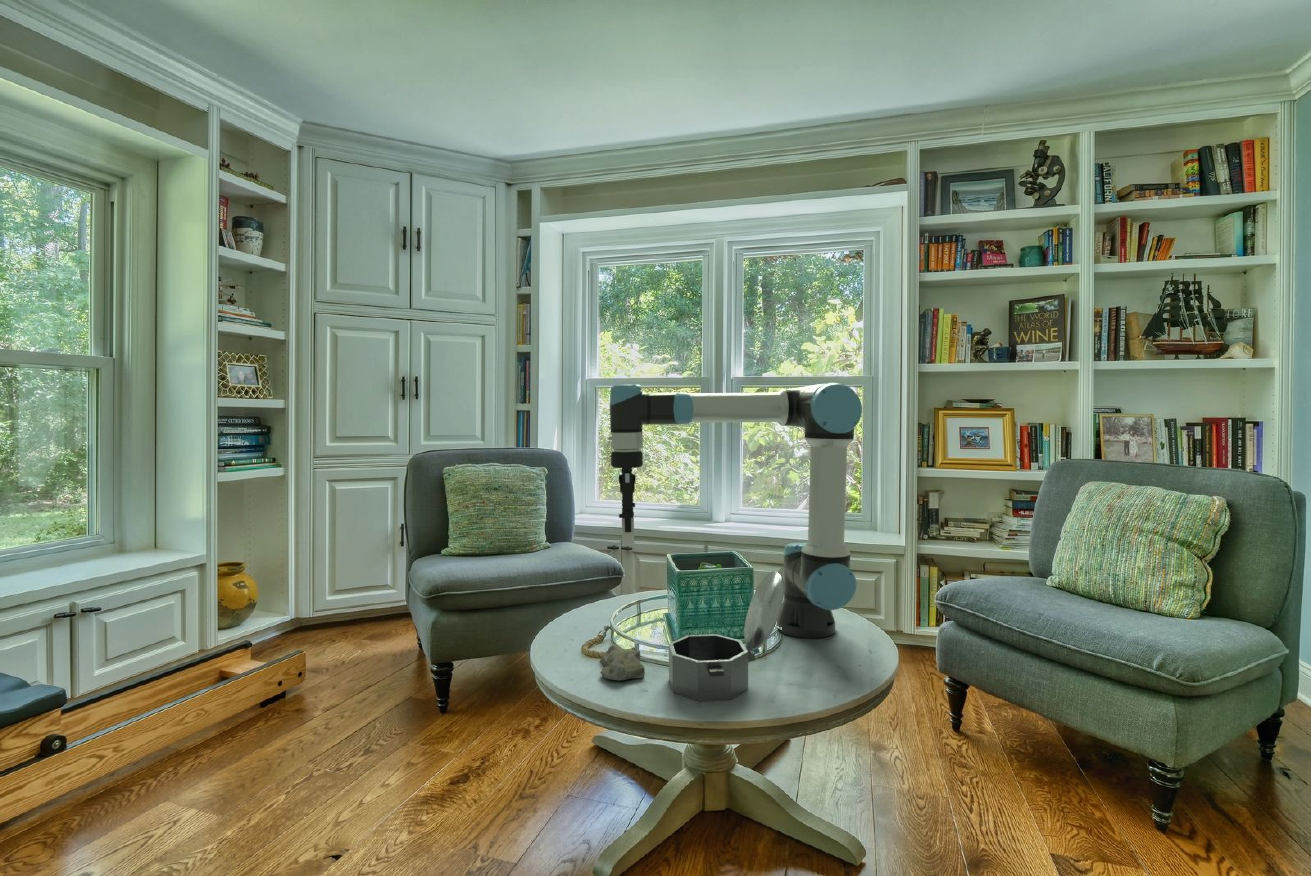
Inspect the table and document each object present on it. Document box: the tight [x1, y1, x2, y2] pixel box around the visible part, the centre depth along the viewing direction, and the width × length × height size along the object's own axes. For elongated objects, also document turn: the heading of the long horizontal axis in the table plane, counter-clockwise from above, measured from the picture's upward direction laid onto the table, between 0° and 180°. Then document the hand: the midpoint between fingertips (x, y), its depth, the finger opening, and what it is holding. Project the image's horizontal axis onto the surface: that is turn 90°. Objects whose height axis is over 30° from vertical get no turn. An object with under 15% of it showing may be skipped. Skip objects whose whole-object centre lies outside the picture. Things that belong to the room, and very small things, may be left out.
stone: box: [599, 644, 646, 681], centre depth 153 cm, size 15×10×4 cm, turn 7°
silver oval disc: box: [743, 570, 784, 651], centre depth 145 cm, size 17×17×2 cm
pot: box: [668, 633, 756, 702], centre depth 145 cm, size 18×21×8 cm
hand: (627, 540), depth 160 cm, fingers open, 13 cm apart
